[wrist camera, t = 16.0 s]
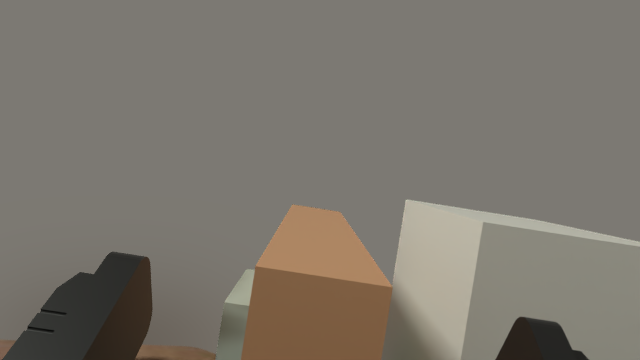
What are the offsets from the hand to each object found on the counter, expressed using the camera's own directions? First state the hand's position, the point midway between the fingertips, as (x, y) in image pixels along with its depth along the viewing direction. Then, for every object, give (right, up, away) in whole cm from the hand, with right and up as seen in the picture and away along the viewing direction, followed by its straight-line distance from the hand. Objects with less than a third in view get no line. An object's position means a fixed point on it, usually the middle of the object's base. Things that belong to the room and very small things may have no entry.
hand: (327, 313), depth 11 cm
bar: (-1, -4, +16) cm, 17 cm away
